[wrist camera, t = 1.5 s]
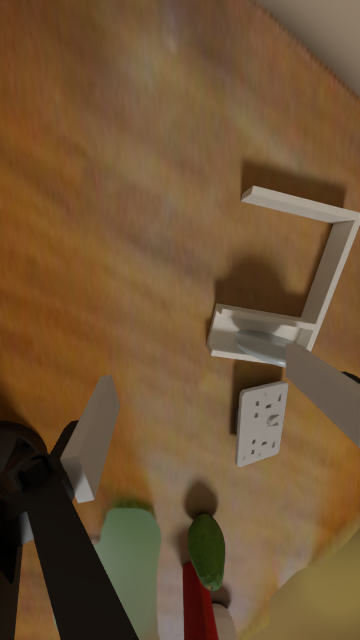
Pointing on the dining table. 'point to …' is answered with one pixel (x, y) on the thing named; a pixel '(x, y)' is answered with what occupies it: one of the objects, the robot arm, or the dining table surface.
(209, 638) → the coffee cup
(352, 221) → the dish rack
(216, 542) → the fruit
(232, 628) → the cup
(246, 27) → the dining table surface
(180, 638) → the dining table surface
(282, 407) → the wall socket
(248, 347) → the grey plate
